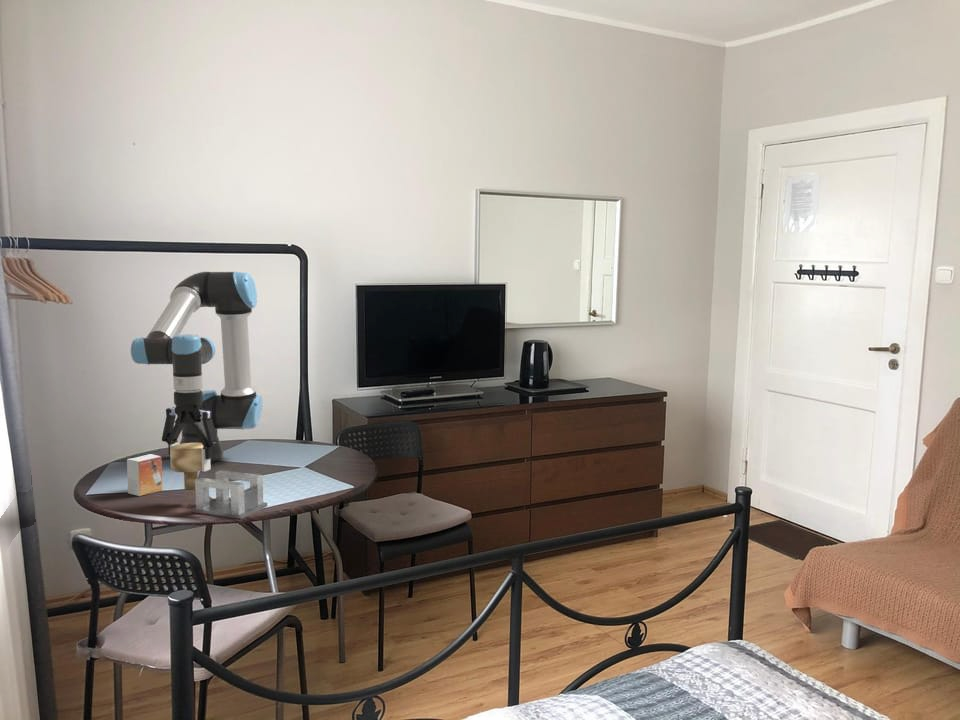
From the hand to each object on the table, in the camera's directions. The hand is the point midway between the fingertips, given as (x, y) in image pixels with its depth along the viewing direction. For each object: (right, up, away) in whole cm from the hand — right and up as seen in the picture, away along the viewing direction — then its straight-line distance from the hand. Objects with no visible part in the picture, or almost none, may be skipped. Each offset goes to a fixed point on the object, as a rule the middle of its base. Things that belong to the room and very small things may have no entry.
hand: (190, 468), depth 221 cm
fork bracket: (+12, -11, -3) cm, 17 cm away
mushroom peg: (0, -6, +1) cm, 6 cm away
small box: (-18, -9, +12) cm, 23 cm away
